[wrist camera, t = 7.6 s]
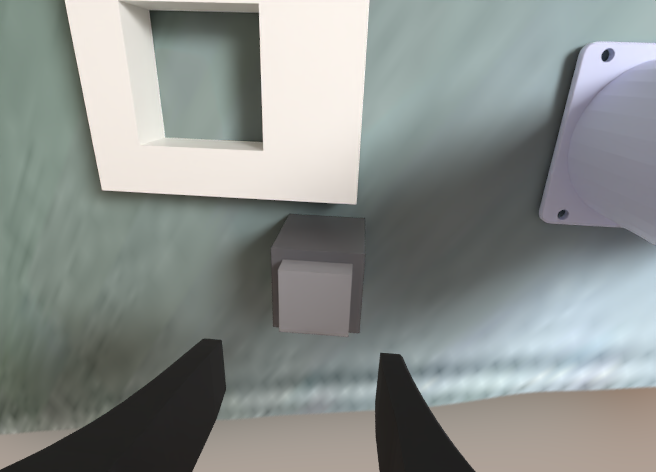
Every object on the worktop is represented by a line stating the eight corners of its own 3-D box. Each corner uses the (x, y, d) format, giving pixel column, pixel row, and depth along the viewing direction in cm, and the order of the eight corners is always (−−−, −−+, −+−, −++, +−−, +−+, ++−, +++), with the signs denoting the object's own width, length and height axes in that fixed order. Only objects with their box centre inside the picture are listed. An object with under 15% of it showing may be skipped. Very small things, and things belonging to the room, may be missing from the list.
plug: (364, 217, 20) (365, 264, 15) (360, 284, 22) (359, 347, 17) (289, 213, 21) (265, 258, 15) (290, 279, 22) (268, 340, 17)
